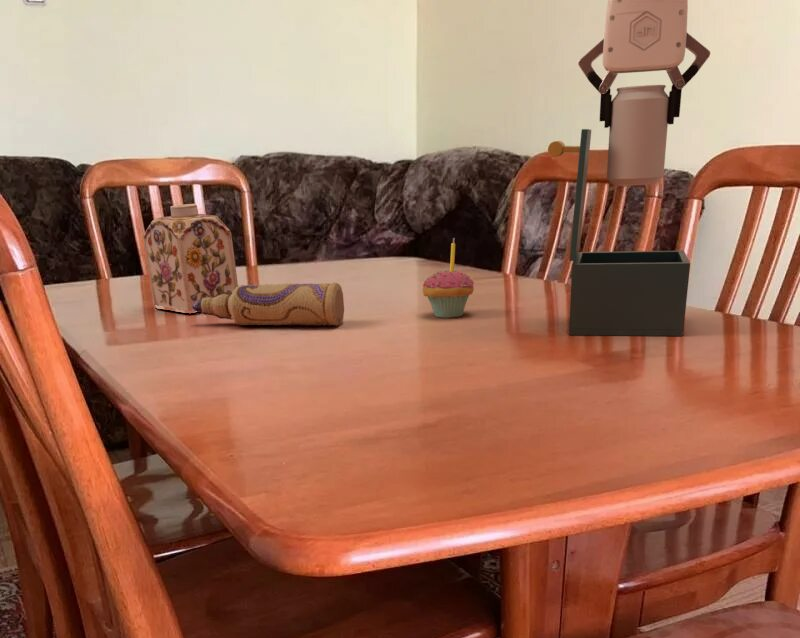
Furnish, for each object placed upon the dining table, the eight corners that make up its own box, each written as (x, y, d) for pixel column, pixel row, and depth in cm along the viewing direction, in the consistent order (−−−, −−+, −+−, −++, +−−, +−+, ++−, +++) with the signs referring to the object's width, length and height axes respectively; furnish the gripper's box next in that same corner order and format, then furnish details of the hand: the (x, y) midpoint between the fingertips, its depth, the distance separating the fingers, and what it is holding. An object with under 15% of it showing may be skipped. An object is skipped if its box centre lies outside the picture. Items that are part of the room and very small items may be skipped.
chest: (677, 317, 128) (684, 250, 124) (682, 336, 116) (690, 263, 112) (573, 316, 132) (576, 252, 128) (568, 335, 120) (571, 264, 116)
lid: (591, 129, 120) (554, 129, 121) (587, 129, 108) (547, 128, 109) (579, 249, 128) (545, 247, 129) (575, 261, 115) (536, 259, 117)
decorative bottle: (348, 320, 137) (346, 279, 134) (334, 330, 130) (331, 287, 127) (206, 319, 143) (201, 279, 140) (186, 329, 136) (180, 287, 134)
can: (597, 186, 113) (602, 86, 108) (618, 183, 118) (623, 88, 113) (652, 185, 109) (659, 82, 104) (670, 182, 114) (678, 83, 109)
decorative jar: (242, 305, 155) (229, 202, 147) (190, 315, 147) (174, 207, 140) (204, 300, 162) (190, 201, 155) (152, 309, 155) (135, 206, 147)
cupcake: (438, 309, 143) (437, 236, 138) (483, 312, 139) (483, 236, 134) (414, 318, 136) (411, 242, 131) (460, 321, 132) (459, 242, 127)
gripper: (576, -31, 102) (570, 129, 109) (726, -45, 98) (709, 122, 105) (579, -21, 108) (573, 129, 116) (720, -34, 104) (704, 122, 112)
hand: (638, 124), depth 110 cm, fingers closed on can, 7 cm apart
